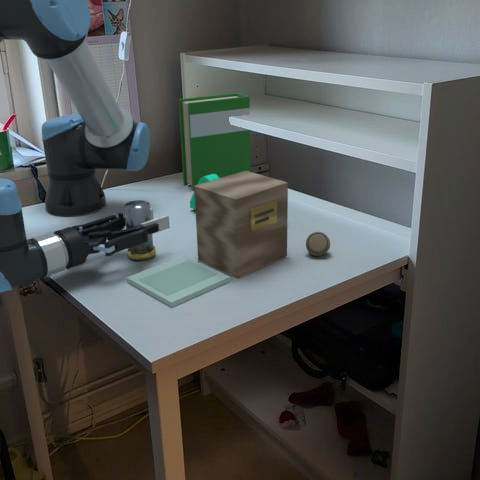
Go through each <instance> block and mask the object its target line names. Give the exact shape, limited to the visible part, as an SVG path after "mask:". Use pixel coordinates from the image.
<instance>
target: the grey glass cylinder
mask: <svg viewBox="0 0 480 480" xmlns="http://www.w3.org/2000/svg"><path fill="white" fill-rule="evenodd" d="M150 208H151V205H150V202H149V201H147V200H141V199H139V200H132V201H128V202H126V203H125V204H124V212H125V213H124V214H125V216H126V223H127V229H128V228H132V227H137V226H141V223H144V222H147V221H150V220H151V214H150ZM126 250H127V257H128V258H129V259H132V260H136V261H137V260H141V261H142V260H143V261H144V260H147V259H150V258H153V257H154V256H155V255H156V253H157V251H156V247H155V246H154V239H153V234H151V235H148V242H146V243H143V244H140V245H137V246H134V247H131V248H128V249H126Z"/></svg>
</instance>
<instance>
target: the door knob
mask: <svg viewBox="0 0 480 480" xmlns="http://www.w3.org/2000/svg"><path fill="white" fill-rule="evenodd" d="M330 247H331V240H330V238H329V236H328V235H327V234H325V233H324V232H322V231H314V232H312V233H310V234H309V235H308V236H307V238H306V239H305V248H306V250H307V252H308V253H309V254H311V255H312V256H315V257H321V256H322V257H323V256H324V255H325V254H327V253H328V252H329V250H330Z"/></svg>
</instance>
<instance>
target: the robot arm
mask: <svg viewBox="0 0 480 480" xmlns="http://www.w3.org/2000/svg"><path fill="white" fill-rule="evenodd" d="M89 5H90V4H89V0H0V44H1V43H2V42H3V41H4V40H11V41H12V40H20V41H21V40H23V41H24V42H25V44H27V46H28V48H29V49H30V51H31V52H32V53H33V55H34V56H35V57H37V58H38V59H39V60H44V61H47V62H46V63H48V65H49V66H50V69H51V70H52V72H53V73H54V75H55V77H56V78H57V80H58V81H59V83H60V85H61V86H62V88H63V90H64V91H65V93H66V95H67V97H68V98H69V100H70V101H71V102H72V104H73V106H74V108H75V109H76V111H77V113H72V114H65V115H61V116H57V117H53V118H50V119H48V120H46V121H44V122H43V123H42V125H41V138H42V139H41V141H42V144H43V151H44V157H45V163H46V170H47V178H48V183H47V188H46V194H45V199H44V200H45V201H44V204H45V206H44V207H45V211H46V212H47V213H48V214H51V215H54V216H60V217H73V216H75V217H76V216H82V215H89V214H92V213H95V212H98V211H100V210H102V209H103V208H105V206H106V205H107V200H106V198H107V197H106V194H105V192H104V189H103V187H102V186H101V183H100V181H99V179H98V177H97V174H96V170H105V171H106V170H108V171H121V172H130V171H131V172H137V171H138V172H139V171H140V170H142V169H143V168H144V167H145V166H146V164H147V161H148V159H149V154H150V148H151V147H150V146H151V136H150V134H151V133H150V129H149V126H148V125H147V124H146V123H144V122H141V121H138V122H136V121H135V120H134V118H133V116H132V115H131V113H130V112H129V111H128V110H127V109H125V108H122V107H120V106H119V104H118V102H117V101H118V100H117V99H116V98H115V96H114V94H113V91H112V90H111V87H110V86H109V84H108V82H107V80H106V78H105V76H104V75H103V72H102V70H101V68H100V66H99V65H98V63H97V60H96V58H95V57H94V55H93V53H92V51H91V49H90V47H89V45H88V43H87V41H86V40H87V37H88V31H89V29H90V26H91V17H92V16H91V10H90V8H89V7H88V6H89ZM22 208H23V205H22V201H21V199H20V195H19V191H18V187H17V185H16V183H15V182H14V181H13V180H11V179H8V178H3V177H0V293H3V292H7V291H12V290H13V289H15V288H19V287H21V286H23V285H24V286H25V285H26V284H29V283H32V282H35V281H37V280H40V279H43V278H50V277H51V276H52V275H55V274H58V273H61V272H63V271H65V270H70V269H72V268H75V267H79V266H81V265H83V264H85V263H86V261H87V259H88V256H90V255H93V254H98V253H100V252H103V253H105V257H111V256H113V255H116V254H117V253H118V252H122V251H125V250H128V249H129V248H131V247H134V246H137V245H140V244H143V243H146V242H148V235H151V234H152V235H153V234H156V233H157V234H158V233H159V232H162V231H164V230H168V229H170V216H169V215H168V214H166V215H162V216H159V217H156V218H154V211H153V208H151V207H150V214H151V220H150V221H147V222H144V223H141V226H137V227H132V228H128V229H127V223H126V215H125V216H124V213H123V212H119V213H117V215H115V214H112V215H109V216H106V217H105V216H104V217H102V218H99V219H95V220H93V221H89V222H86V223H83V224H77V225H73V226H72V225H71V226H68V227H64V228H62V229H58V230H55V231H54V232H47V233H44V234H42V235H41V234H40V235H37V236H35V237H32V238H28V239H27V233H26V232H27V231H26V227H25V221H24V216H23V209H22Z"/></svg>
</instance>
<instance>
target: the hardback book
mask: <svg viewBox="0 0 480 480" xmlns="http://www.w3.org/2000/svg"><path fill="white" fill-rule="evenodd" d="M250 98H251V97H250V96H249V95H245V94H241V93H239V92H232V93H225V94H223V93H222V94H215V95H214V94H213V95H205V96H197V97H196V96H195V97H194V96H193V97H186V98H179V99H178V113H179V128H180V129H179V132H180V146H181V161H182V162H181V163H182V164H181V165H182V180H183V185H184V186H191V187H192V192H193V191H194V186H195V185H197V184H198V182H199V180H200V178H201V177H204V176H207V175H210V174H216V175H217V176H218V177H219V178H222V177H226V176H229V175H233V174H236V173H239V172H243V171H249V172H251V169H252V168H251V167H252V165H251V129H250V130H247V129H244V128H241V127H237V126H234V125H231V124H230V122H229V117H231V116H242V115H250V116H251V112H250V111H251V109H250V106H251V105H250V102H251V99H250ZM188 184H189V185H188Z"/></svg>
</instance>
